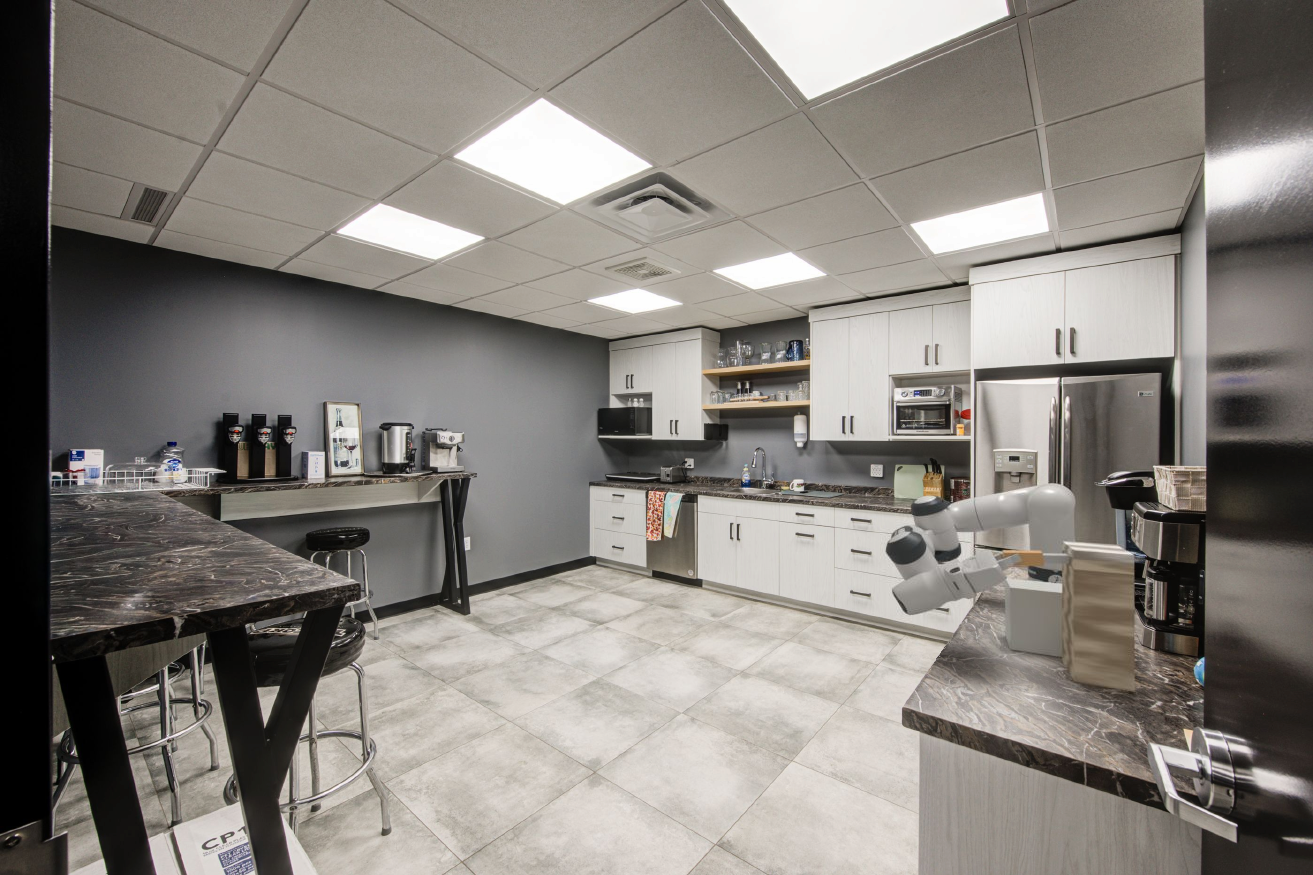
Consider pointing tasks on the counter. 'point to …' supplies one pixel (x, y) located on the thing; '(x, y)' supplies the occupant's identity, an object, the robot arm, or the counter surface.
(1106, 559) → the socket tower
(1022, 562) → the plug
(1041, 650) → the pedestal
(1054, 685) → the counter surface
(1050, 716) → the counter surface
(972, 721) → the counter surface
